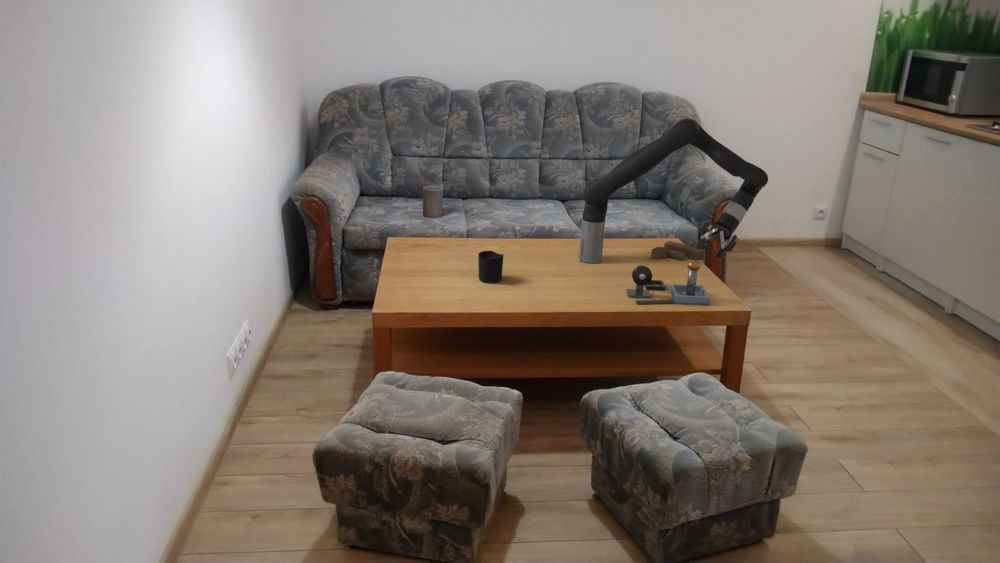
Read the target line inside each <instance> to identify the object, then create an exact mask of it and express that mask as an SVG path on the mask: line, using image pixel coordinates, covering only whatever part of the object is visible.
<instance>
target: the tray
mask: <svg viewBox="0 0 1000 563" xmlns="http://www.w3.org/2000/svg"><path fill="white" fill-rule="evenodd" d="M686 289H687V284H681V283H680V284H677V283H670V284H669V291H668V292H669V294H670V295H671V298H672V300H674V301H675V304H674V305H688V306H689V305H693V306H710V300H711V299H710V298H711V297H710V295H709V293H708V291H707V290H706V289H705V287H704V285H699V284H696V290H695V296H686Z"/></svg>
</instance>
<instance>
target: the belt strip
mask: <svg viewBox="0 0 1000 563" xmlns="http://www.w3.org/2000/svg"><path fill="white" fill-rule="evenodd" d="M635 304H637V305H639V306H640V305H643V306H644V305H676V304H675V301H674V300H673V299H648V300H647V299H645V300H642V299H641V300H639V299H638V300H637V299H635Z"/></svg>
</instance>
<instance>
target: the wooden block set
mask: <svg viewBox="0 0 1000 563" xmlns="http://www.w3.org/2000/svg"><path fill="white" fill-rule="evenodd" d="M706 252H707V251H706V249H703V248H700V250H698V249H697V248H696V246H691V245H688V244H683V243H679V242H675V241H671V240H669V241H666V242H665V243H664V246H655V247H654V248H652V249H651V252H650V260H667V259H668V258H673V259H676V260H680V261H684V260H686V257H687V258H688V259H690V258H691V259H690V260H696V261H699V260H701V261H703V260H704V259H705V257H706ZM666 258H667V259H666Z"/></svg>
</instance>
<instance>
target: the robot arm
mask: <svg viewBox="0 0 1000 563" xmlns="http://www.w3.org/2000/svg"><path fill="white" fill-rule="evenodd" d="M688 145H691V146H693V147H695V148H697V149H698V150H700V151H701V152H703V153H704V154H705V155H706V156H707V157H709V159H711V160H712V162H714V163H715V164H716V165H717V166H718V167H720V168H721V169H723V170H724V171H725V172H727V173H728V174H730V175H731V176H733V177H734V178H735V177H736V178H740V179H742V180H743V182H742V183H741V185H740V187H739V188H738V191H736V193H735V195H733V197H732V198H731V200H730V202H729V203H728V204H727V205H726V206H725V207H724V208H723V210H722V212H721V213H720V215H719V216H718V217H717V219H716V221H715V223H713V225H711V224H710V223H709V222H708V221H707V222H705V223H704V225H703V226H702V227H701V228H700V230H699V231H698V233H697V236H698V237H699V240H698V241H697V242H696V244H695V248H697V249H698V250H700V249H702V246H703V245H705V241H708V240H712V239H713V240H714V241H717V242H719V243H720V244H721V245H720V246H721V247H720V248H719V249H718V251H717V252H716V253H715V255H714V258H715V259H717V260H719V259H720V258H722V256H723V255H724V253H725V252H730V253H731V252H733V250H734V247H735V246H736V244H737V242H738V241H739V237H738V236H737V235H736V234H733V233H735V231H736V230H737V228H738V227H739V226H740V224H741V223H742V221H743V219H744V217H745V216H746V214H747V212H748V211H749V209H750V208H751V206H752V205H753V203H754V200H755V199H756V197H757V196H758V194H759V193H760V191H761V190H762V189H763V188H764V187H765V186H766V185H767V184H768V182H769V175H768V173H767V172H766V171H765V170H764V169H763V168H761V167H759V166H757V165H755V164H754V163H751V162H749V161H747V160H745V159H744V158H742V157H741V156H740V155H738V154H737V153H735V152H734V151H733V150H731V149H729V148H728V147H726V146H725V145H724V144H722V143H720V141H718V140H717V139H715V138H714V137H713V136H711V135H710V134H709V133H708V132H707V131H706V130H705V129H704V128H703V127H702V126H701V125H700V124H699V122H697V121H696V120H695V119H693V118H689V117H686V118H682V119H681V120H679V121H678V122H677V123H675V125H673V126H672V127H671V128H670V129H669V130H668V131H666V132H665V133H664V134H663V135H662V136H660V137H659V138H657V139H655V140H653V141H651V142H648V143H647V144H645V145H644V146H642V147H640V148H639V149H636V150H635V151H634V152H632V153H631V154H630V155H628V156H626V157H625V158H624V159H623V160H622V161H621V162H619V163H618V164H616V166H615V167H614V168H613V169H612V170H610V172H608V173H607V174H605V175H604V176H602V177H600V178H598V179H597V178H596V179H593V180H591V181H589V182H588V183H587V184H586V185H585V187H584V189H583V191H582V199H583V201H584V202H585V203H584V206H583V207H584V208H583V211H582V218H581V219H582V220H581V231H580V232H581V233H580V237H579V238H580V240H579V251H578V260H579V262H582V263H585V264H598V263H599V264H600V263H601V262H602V260H603V250H604V240H605V239H604V238H605V229H606V228H605V227H606V225H605V224H606V216H607V212H608V206H609V205H608V203H609V197H610V196H612V194H614V193H616V192H617V191H618V190H619V189H621V188H623V187H625V186H627V185H628V184H631V183H632V182H634V181H636V180H637V179H639V178H641V177H642V176H643V175H645V174H647V173H648V172H650V171H651V170H653V168H655V167H657V166H658V165H659V164H661V163H662V161H663V160H665V159H666V158H667V157H668V156H670V155H671V154H673V153H674V152H676V151H678V150H680V149H682V148H683V147H686V146H688ZM729 239H730V241H729V242H727V241H728V240H729Z"/></svg>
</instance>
